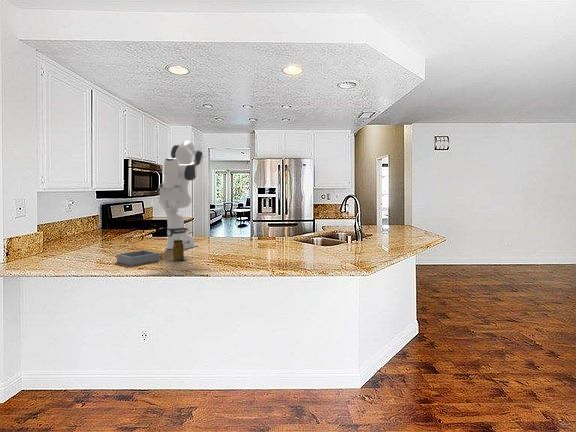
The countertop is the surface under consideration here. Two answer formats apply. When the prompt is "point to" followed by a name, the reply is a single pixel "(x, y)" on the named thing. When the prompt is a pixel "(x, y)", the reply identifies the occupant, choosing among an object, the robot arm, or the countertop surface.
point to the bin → (137, 257)
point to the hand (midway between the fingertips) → (172, 208)
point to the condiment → (178, 251)
